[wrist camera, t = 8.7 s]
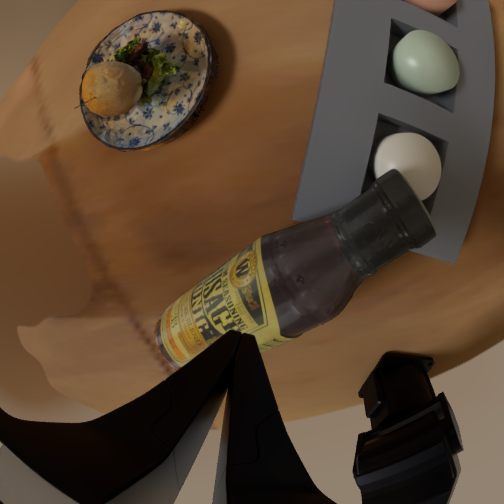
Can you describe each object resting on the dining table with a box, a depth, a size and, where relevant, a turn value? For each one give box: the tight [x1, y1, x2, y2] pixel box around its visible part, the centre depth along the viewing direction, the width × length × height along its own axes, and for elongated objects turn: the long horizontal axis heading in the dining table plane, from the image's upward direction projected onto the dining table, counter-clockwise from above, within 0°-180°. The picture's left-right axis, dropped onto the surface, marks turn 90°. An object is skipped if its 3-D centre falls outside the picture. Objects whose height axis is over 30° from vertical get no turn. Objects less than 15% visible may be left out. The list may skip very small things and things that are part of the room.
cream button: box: [368, 133, 441, 201], centre depth 14 cm, size 4×4×3 cm
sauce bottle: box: [154, 169, 437, 370], centre depth 17 cm, size 7×6×20 cm
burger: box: [74, 10, 219, 152], centre depth 14 cm, size 12×12×8 cm
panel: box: [292, 0, 495, 264], centre depth 12 cm, size 12×24×3 cm, turn 170°
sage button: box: [387, 30, 460, 97], centre depth 11 cm, size 4×4×3 cm
